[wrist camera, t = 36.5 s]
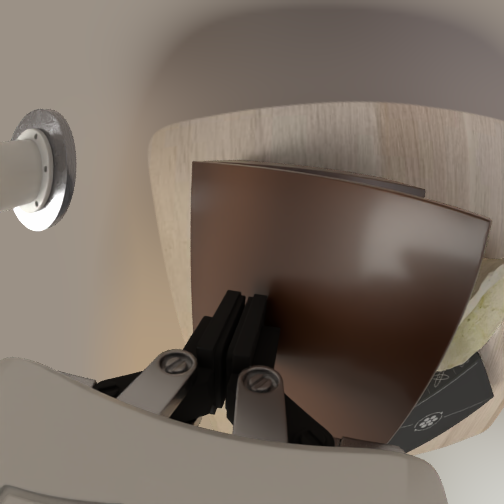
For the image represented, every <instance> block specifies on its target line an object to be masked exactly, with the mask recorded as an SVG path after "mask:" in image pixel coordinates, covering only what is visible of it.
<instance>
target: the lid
mask: <svg viewBox="0 0 504 504" xmlns="http://www.w3.org/2000/svg"><path fill="white" fill-rule="evenodd" d="M491 223H492V220H491V219H490V218H487V217H485V216H482V215H479V214H476V213H473V212H470V211H467V210H464V209H460V208H457V207H454V206H451V205H447V204H444V203H440V202H437V201H433V200H430V199H426V198H423V197H419V196H415V195H411V194H407V193H403V192H399V191H395V190H391V189H387V188H382V187H378V186H373V185H369V184H364V183H359V182H354V181H349V180H344V179H338V178H333V177H327V176H322V175H316V174H309V173H303V172H296V171H289V170H282V169H275V168H267V167H259V166H250V165H240V164H230V163H218V162H205V161H193V162H192V186H191V292H192V318H193V332H194V331H195V329H196V327H197V326H198V324H199V323H200V321H201V319H202V318H203V317H204V316H210V317H213V315H214V313H215V312H216V310H217V308H218V306H219V305H220V303H221V301H222V299H223V297H224V296H225V294H226V292H227V290H233V291H240V292H241V295H244V296H245V297H246V299H245V305H246V302H247V300H248V297H249V296H251V297H253V296H254V294H260V295H267V306H266V315H265V324H264V326H271V327H278V328H281V329H280V335H279V342H278V348H277V354H276V360H275V366H274V369H275V370H276V371H277V372H279V374H280V375H281V376H282V379H283V384H284V393H285V394H286V395H287V396H288V397H289V398H290V399H292V400H293V401H294V402H295V403H296V404H297V405H298V406H299V407H301V408H302V409H303V410H304V411H305V412H306V413H307V414H309V415H310V416H311V417H312V418H313V419H314V420H316V421H317V422H318V423H319V424H320V425H322V426H323V427H324V428H325V429H326V430H328V431H329V432H330V434H331V435H332V436H333V437H335V438H340V439H341V438H342V436H344V437H349V438H354V439H360V440H365V441H371V442H378V443H384V444H388V443H389V441H390V440H391V439H392V438H393V436H394V435H395V434H396V432H397V431H398V430H399V428H400V427H401V426H402V424H403V423H404V422H405V420H406V419H407V417H408V416H409V415H410V413H411V412H412V410H413V409H414V407H415V406H416V404H417V403H418V401H419V400H420V398H421V396H422V395H423V393H424V392H425V390H426V388H427V387H428V385H429V383H430V382H431V380H432V378H433V377H434V375H435V373H436V371H437V369H438V368H439V366H440V364H441V362H442V360H443V358H444V356H445V354H446V352H447V351H448V348H449V346H450V344H451V342H452V340H453V338H454V336H455V334H456V332H457V329H458V327H459V325H460V322H461V320H462V318H463V315H464V313H465V310H466V308H467V305H468V303H469V300H470V297H471V295H472V292H473V289H474V286H475V283H476V280H477V277H478V274H479V271H480V267H481V264H482V260H483V257H484V253H485V249H486V245H487V241H488V237H489V233H490V228H491Z"/></svg>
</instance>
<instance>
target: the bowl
mask: <svg viewBox="0 0 504 504" xmlns="http://www.w3.org/2000/svg"><path fill="white" fill-rule="evenodd" d="M503 320H504V258H502V259H487V258H483V260H482V264H481V267H480V271H479V274H478V277H477V280H476V283H475V286H474V289H473V292H472V295H471V297H470V300H469V303H468V305H467V308H466V310H465V313H464V315H463V318H462V320H461V322H460V325H459V327H458V329H457V332H456V334H455V336H454V338H453V340H452V342H451V344H450V346H449V348H448V351H447V352H446V354H445V356H444V358H443V360H442V362H441V364H440V366H439V368H438V369H437V371H443V370H446V369H451V368H453V367H455V366H458V365H461V364H463V363H464V362H466V361H467V360H468V359H469V358H470V357H471V356H472V355H473V354H474V353H476V352H477V351H478V350H479V349H481V348H482V347H483V346H484V345H485V344H486V343H487V342H488V341H489V339H490V337H491V336H492V335H493V333H494V332H495V331H496V329H497V327H498V326H499V325H500V324H501V323H502V321H503Z"/></svg>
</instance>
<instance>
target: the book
mask: <svg viewBox="0 0 504 504" xmlns="http://www.w3.org/2000/svg"><path fill="white" fill-rule="evenodd" d="M493 397H494V395H493V392H492V388H491V385H490V382H489V379H488V376H487V373H486V370H485V367H484V365H483V362H482V359H481V357H480V355H479V354H478V352H476V353H474V354H473V355H472V356H471V357H470V358H469V359H468V360H467V361H466V362H464V363H463V364H461V365H458V366H455V367H453V368H451V369H446V370H443V371H437V372H436V373H435V375H434V377H433V378H432V380H431V382H430V383H429V385H428V387H427V388H426V390H425V392H424V393H423V395H422V396H421V398H420V400H419V401H418V403H417V404H416V406H415V407H414V409H413V410H412V412H411V413H410V415H409V416H408V417H407V419H406V420H405V422H404V423H403V424H402V426H401V427H400V428H399V430H398V431H397V432H396V434H395V435H394V436H393V438H392V439H391V440H390V441H389V443H388V444H392V445H395V446H399V447H400V448H401V449H403V450H404V452H405V453H407V452H409V451H411V450H413V449H415V448H417V447H419V446H421V445H422V444H424V443H426V442H428V441H430V440H431V439H433V438H435V437H437V436H438V435H440V434H442V433H443V432H445V431H446V430H448V429H450V428H451V427H453V426H454V425H456V424H457V423H459V422H460V421H462V420H463V419H465V418H466V417H468V416H469V415H470V414H472V413H473V412H475V411H476V410H477V409H479V408H480V407H481V406H483V405H484V404H485V403H486V402H488V401H489V400H490V399H491V398H493Z"/></svg>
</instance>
